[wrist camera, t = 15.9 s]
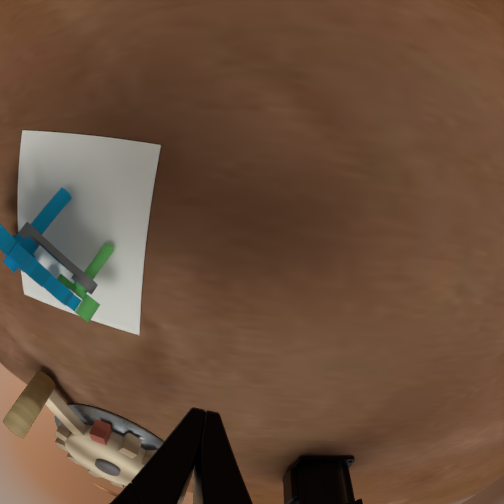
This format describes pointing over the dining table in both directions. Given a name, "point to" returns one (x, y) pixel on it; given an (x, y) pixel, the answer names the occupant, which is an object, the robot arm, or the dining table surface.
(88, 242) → the mat
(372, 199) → the dining table surface
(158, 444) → the wheel base
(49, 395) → the index wheel
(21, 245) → the gear
